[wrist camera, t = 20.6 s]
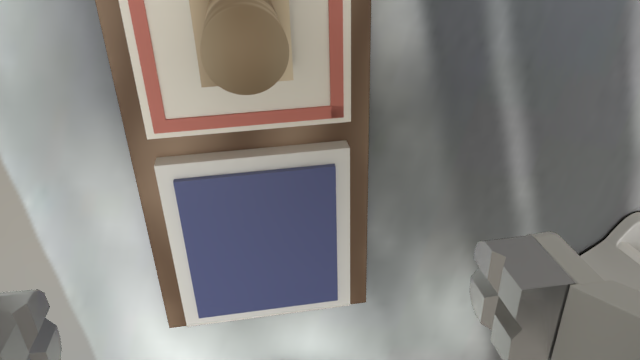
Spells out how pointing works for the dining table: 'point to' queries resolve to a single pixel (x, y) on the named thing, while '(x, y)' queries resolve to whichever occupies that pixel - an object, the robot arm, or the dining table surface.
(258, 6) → the wooden stamp
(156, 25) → the sheet
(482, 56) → the dining table surface
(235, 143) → the stamping board
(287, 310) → the ink pad
